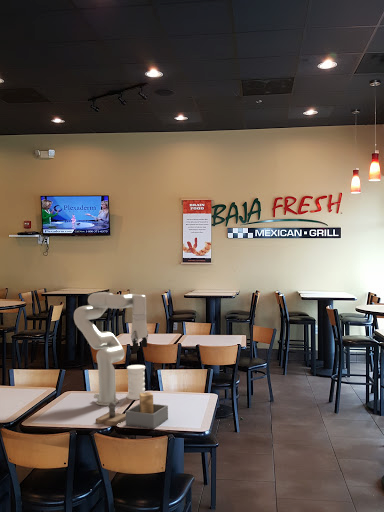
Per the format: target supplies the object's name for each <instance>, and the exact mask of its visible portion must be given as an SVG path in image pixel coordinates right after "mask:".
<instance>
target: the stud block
mask: <svg viewBox="0 0 384 512" xmlns="http://www.w3.org/2000/svg"><path fill="white" fill-rule="evenodd" d="M116 407H117V404H115V403H113V402H111V403H110V404H109V405H108V412H106V413H105V414H103V415H101V416H99V417H97V418H95V424H98V425H99V424H100V425H107V426H114V427H116V425H117V424H118V423H120V424H121V422H122V423H123V422H126V413H119V412H116ZM118 425H119V424H118ZM118 425H117V426H118Z"/></svg>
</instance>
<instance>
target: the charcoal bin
mask: <svg viewBox="0 0 384 512" xmlns="http://www.w3.org/2000/svg"><path fill="white" fill-rule="evenodd" d="M125 414H126V420H125V426H126V425H127V426H128V427H134V426H138V427H137V428H141V427H143V428H142V429H148V428H150V430H154V429H156V428H158V427H159V426H160V425H162V424H163V423H165V422H166V421H168V420H169V405H167V404H156V403H153V414H149V413H140V402H139V403H137V404H136V405H134V406H132V407H131V408H128V409H127V410H125Z"/></svg>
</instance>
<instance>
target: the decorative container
mask: <svg viewBox="0 0 384 512" xmlns="http://www.w3.org/2000/svg"><path fill="white" fill-rule="evenodd" d="M145 369H146V366H145V365H144V364H131V365H128V366H126V370H127V383H128V384H127V387H128V389H127V391H128V394H127V395H126V399H128V400H131V401H134V400H135V401H137V399H139V400H140V393H145V391H146V388H145V385H146V383H145V380H146V379H145Z"/></svg>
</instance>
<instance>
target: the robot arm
mask: <svg viewBox="0 0 384 512" xmlns="http://www.w3.org/2000/svg"><path fill="white" fill-rule="evenodd" d="M87 302H88V304H89V305H82V306H79V307H77V308H76V309H75V310H74V312H73V321H74V324H75V326H76V327H77V328H78V330H79V331H80V332H81V333H82V334H83V336H84V338H85V339H86V341H87V342H88V344H89V345H90V347H91V348H92V349H94V350H97V352H96V355H95V356H96V363H97V371H98V393H94V396H93V398H94V399H96V402H95V403H96V405H98V406H102V407H103V406H105V407H106V406H107V407H109V404H110V403H111V402H113V403H115V405H117V404H118V403H119V399H118V398H117V392H116V388H117V387H116V369H115V367H114V365H113V364H114V363H117V362H121V361H122V360H124V358H125V355H126V353H125V349H124V348H123V345H122V344H121V343H120V342H119V340H118V339H117V337H116V335H114V333H112V331H111V332H110V331H107V330H105V331H100V330H99V329H98V328H97V326H96V325H95V324H94V323H93V322H92V321H90V320H96V319H99V318H101V317H102V316H103V314H104V313H105V312H106V311H107V309H115V310H117V309H127V308H131V309H132V310H131V311H132V322H131V329H130V330H131V335H130V338H131V343H132V351H139V340H141V348H148V340H149V339H148V337H149V330H148V325H147V323H148V322H147V296H146V295H145V294H137V293H125V294H124V293H123V294H114V293H112V292H106V291H103V292H102V291H100V292H99V291H98V292H93V293H91V294H90V295H89V296H88V298H87Z"/></svg>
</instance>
